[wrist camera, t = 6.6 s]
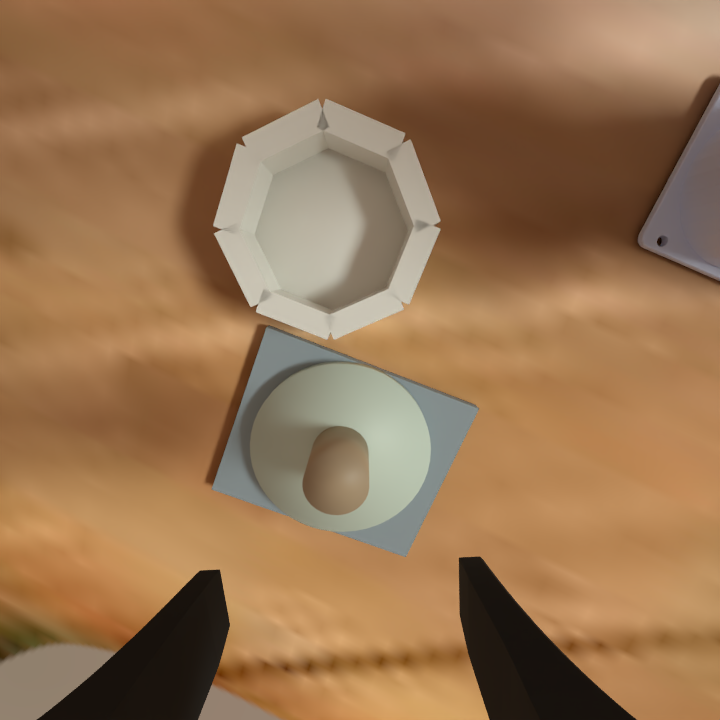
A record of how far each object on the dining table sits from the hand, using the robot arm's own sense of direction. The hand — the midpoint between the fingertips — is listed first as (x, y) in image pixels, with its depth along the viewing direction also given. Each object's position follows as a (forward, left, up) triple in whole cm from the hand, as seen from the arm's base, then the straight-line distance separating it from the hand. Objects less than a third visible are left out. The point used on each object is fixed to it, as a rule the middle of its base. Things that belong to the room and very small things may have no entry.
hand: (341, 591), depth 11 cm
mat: (0, +1, -10) cm, 10 cm away
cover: (+1, 0, -10) cm, 10 cm away
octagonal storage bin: (+5, -10, -10) cm, 15 cm away
